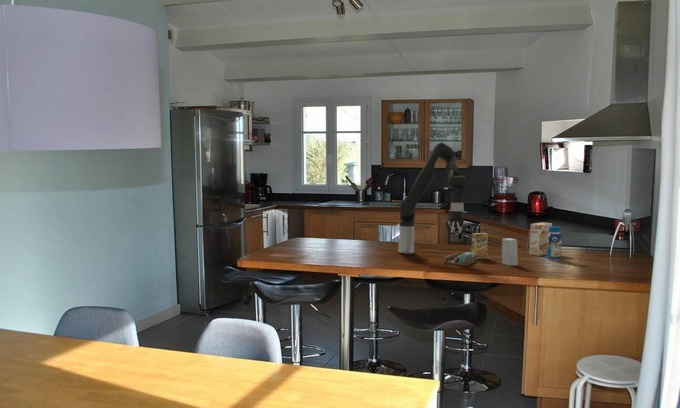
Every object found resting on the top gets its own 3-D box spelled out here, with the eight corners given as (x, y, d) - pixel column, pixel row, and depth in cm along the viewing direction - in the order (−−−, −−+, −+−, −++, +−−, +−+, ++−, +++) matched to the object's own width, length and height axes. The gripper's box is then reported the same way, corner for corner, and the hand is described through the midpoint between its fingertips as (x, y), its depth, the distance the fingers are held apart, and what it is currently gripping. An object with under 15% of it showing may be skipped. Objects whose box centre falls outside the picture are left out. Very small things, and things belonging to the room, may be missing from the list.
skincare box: (517, 265, 337) (518, 239, 336) (508, 265, 336) (508, 240, 334) (510, 262, 345) (511, 237, 344) (500, 263, 344) (501, 237, 342)
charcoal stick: (457, 240, 353) (457, 233, 353) (462, 240, 351) (463, 233, 351) (449, 241, 343) (450, 234, 343) (455, 241, 341) (455, 234, 341)
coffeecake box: (539, 255, 369) (540, 224, 367) (528, 254, 374) (529, 223, 373) (551, 253, 379) (552, 223, 377) (541, 251, 384) (542, 222, 383)
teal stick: (466, 259, 351) (466, 252, 351) (472, 259, 349) (472, 252, 349) (458, 262, 341) (458, 255, 341) (464, 262, 339) (464, 255, 339)
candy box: (474, 259, 356) (475, 234, 354) (470, 258, 360) (471, 233, 358) (487, 258, 358) (488, 233, 357) (483, 257, 362) (484, 232, 361)
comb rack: (466, 265, 335) (466, 259, 335) (443, 263, 343) (443, 257, 342) (477, 260, 350) (477, 255, 350) (455, 258, 358) (455, 252, 358)
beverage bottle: (550, 257, 362) (551, 225, 360) (563, 259, 356) (564, 226, 354) (543, 259, 356) (544, 226, 354) (557, 261, 350) (558, 228, 348)
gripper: (443, 209, 346) (442, 239, 348) (466, 211, 339) (465, 241, 340) (448, 208, 353) (447, 237, 354) (470, 210, 345) (470, 239, 347)
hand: (456, 239), depth 347 cm, fingers closed on charcoal stick, 3 cm apart
